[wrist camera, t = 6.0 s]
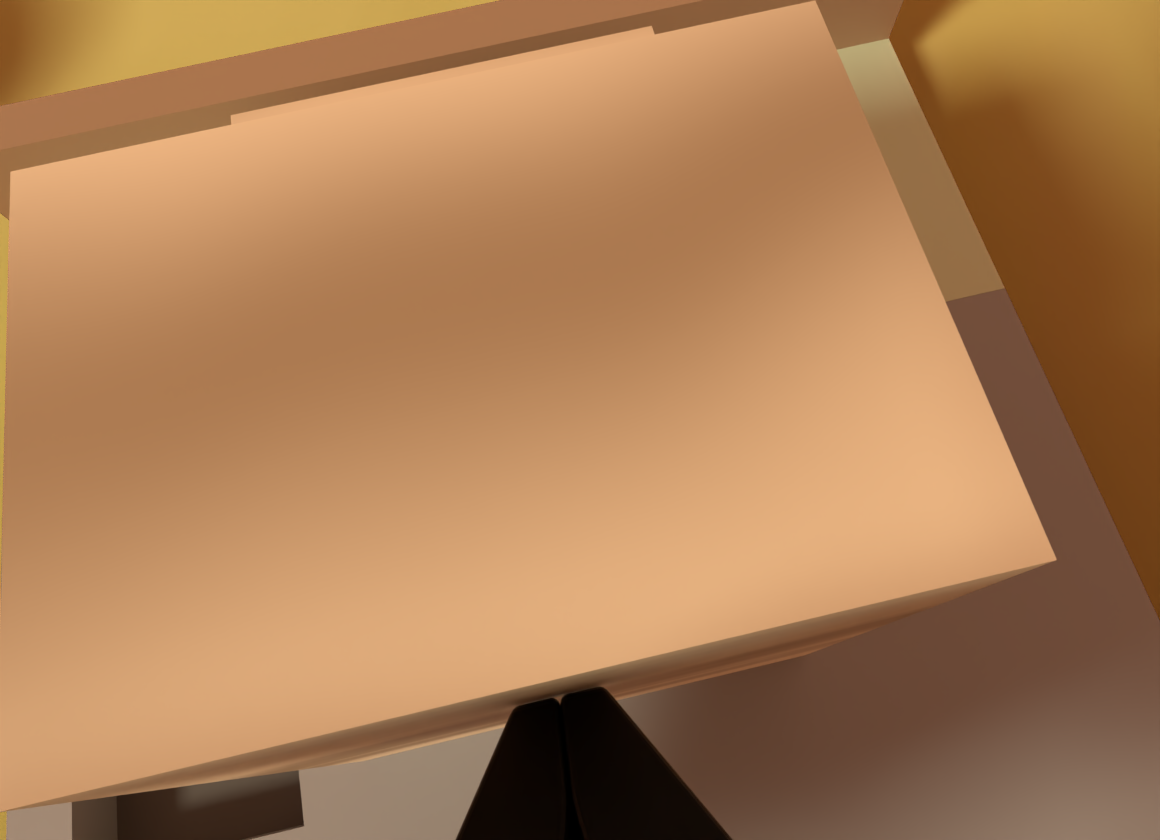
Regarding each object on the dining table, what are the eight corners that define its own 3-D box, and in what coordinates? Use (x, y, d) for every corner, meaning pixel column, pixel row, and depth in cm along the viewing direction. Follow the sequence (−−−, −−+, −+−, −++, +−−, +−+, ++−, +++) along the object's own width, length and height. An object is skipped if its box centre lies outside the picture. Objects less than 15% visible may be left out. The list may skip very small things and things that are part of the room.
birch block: (805, 655, 13) (1057, 559, 5) (364, 761, 13) (-4, 811, 5) (646, 145, 16) (667, -343, 9) (298, 220, 16) (18, -214, 9)
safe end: (971, 325, 16) (1059, 225, 13) (65, 532, 16) (-80, 482, 12) (853, 56, 19) (902, -85, 16) (64, 227, 18) (-59, 118, 15)
